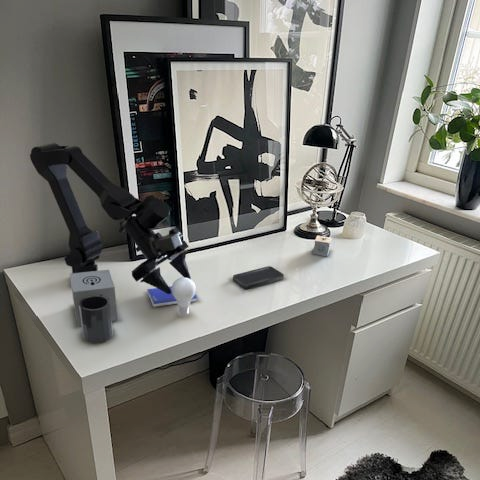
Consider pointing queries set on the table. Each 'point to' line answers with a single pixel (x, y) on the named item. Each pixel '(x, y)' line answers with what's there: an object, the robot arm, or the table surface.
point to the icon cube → (93, 289)
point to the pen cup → (96, 318)
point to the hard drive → (163, 297)
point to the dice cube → (322, 245)
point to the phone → (258, 277)
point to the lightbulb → (183, 293)
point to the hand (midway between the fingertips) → (180, 286)
